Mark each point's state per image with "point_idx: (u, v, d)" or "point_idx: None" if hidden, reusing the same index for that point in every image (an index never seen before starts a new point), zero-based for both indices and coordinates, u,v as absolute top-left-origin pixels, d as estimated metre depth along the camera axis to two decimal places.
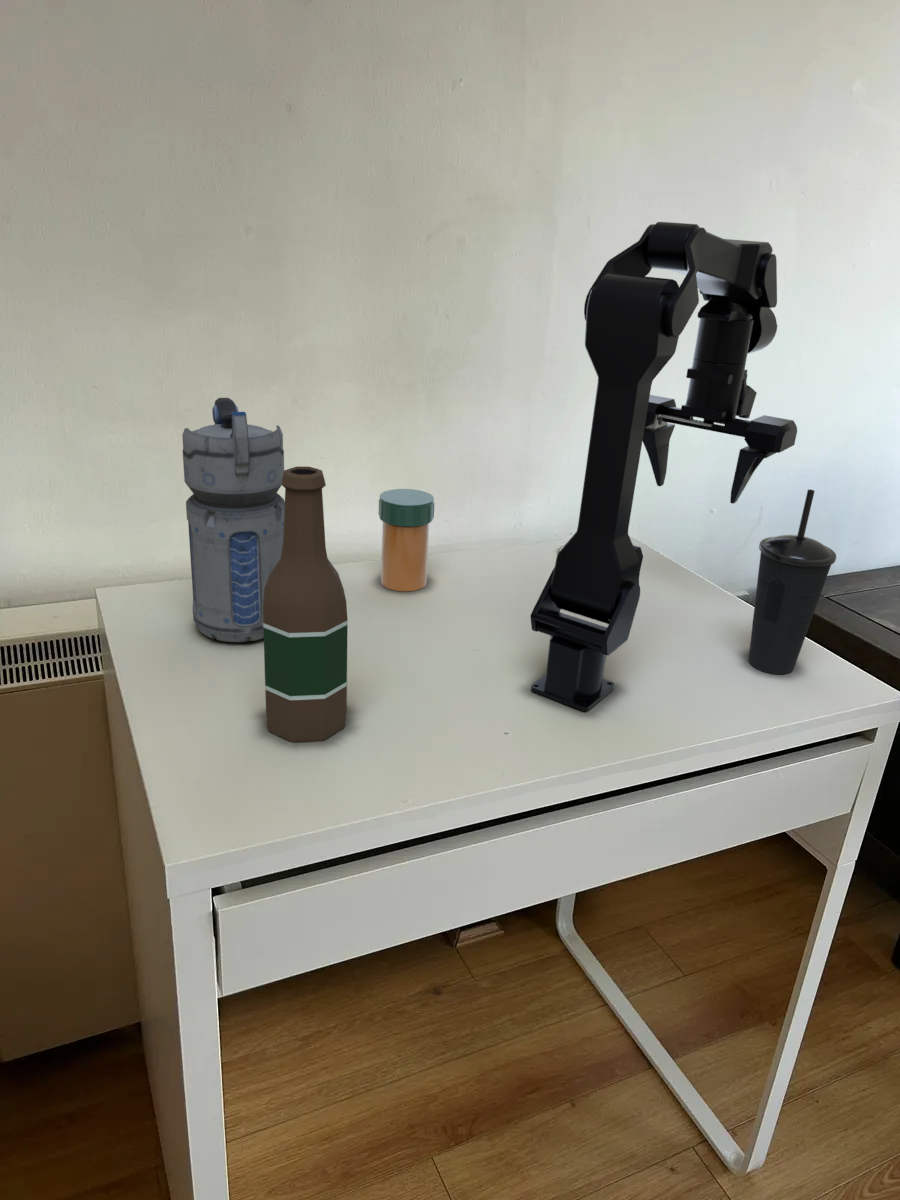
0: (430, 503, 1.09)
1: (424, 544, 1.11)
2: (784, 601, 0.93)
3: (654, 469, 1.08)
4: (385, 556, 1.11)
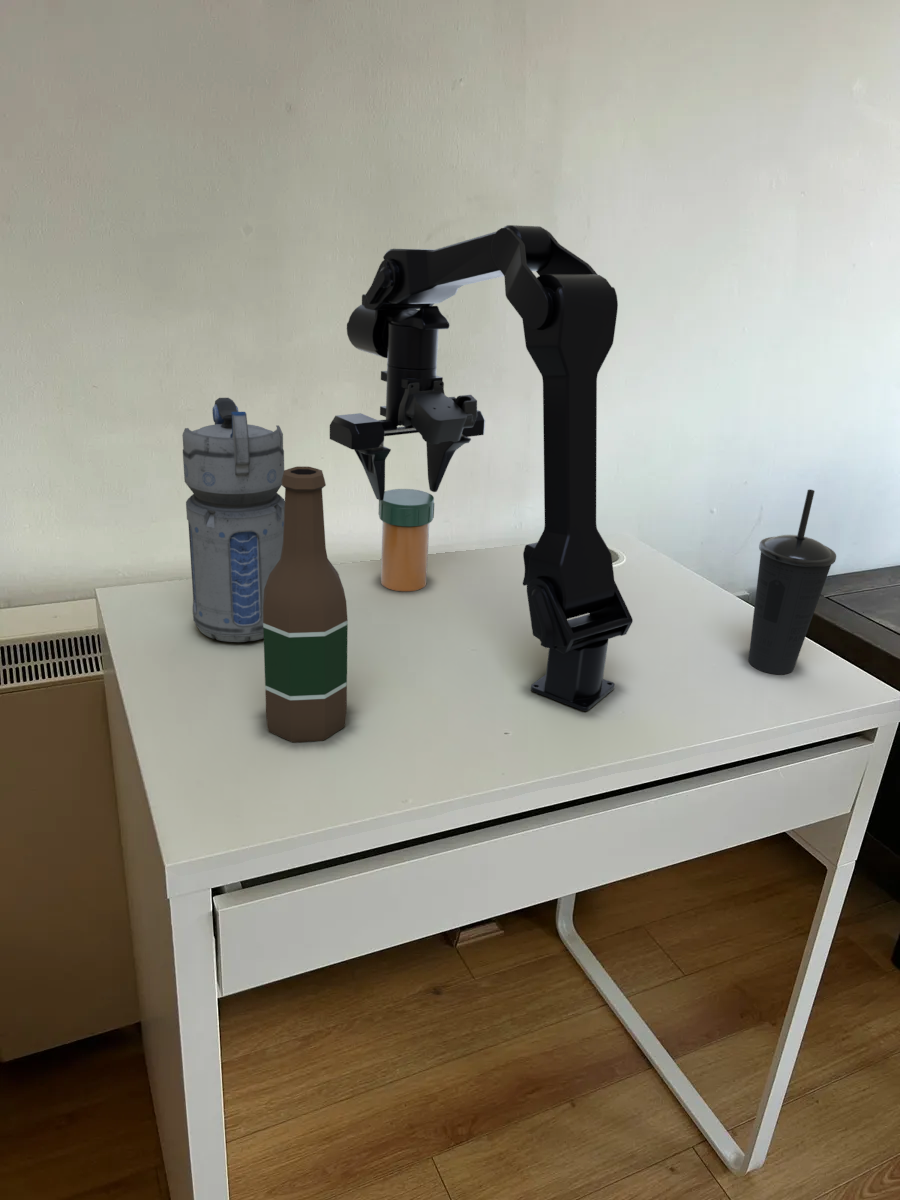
0: (430, 503, 1.09)
1: (424, 544, 1.11)
2: (784, 601, 0.93)
3: None
4: (385, 556, 1.11)
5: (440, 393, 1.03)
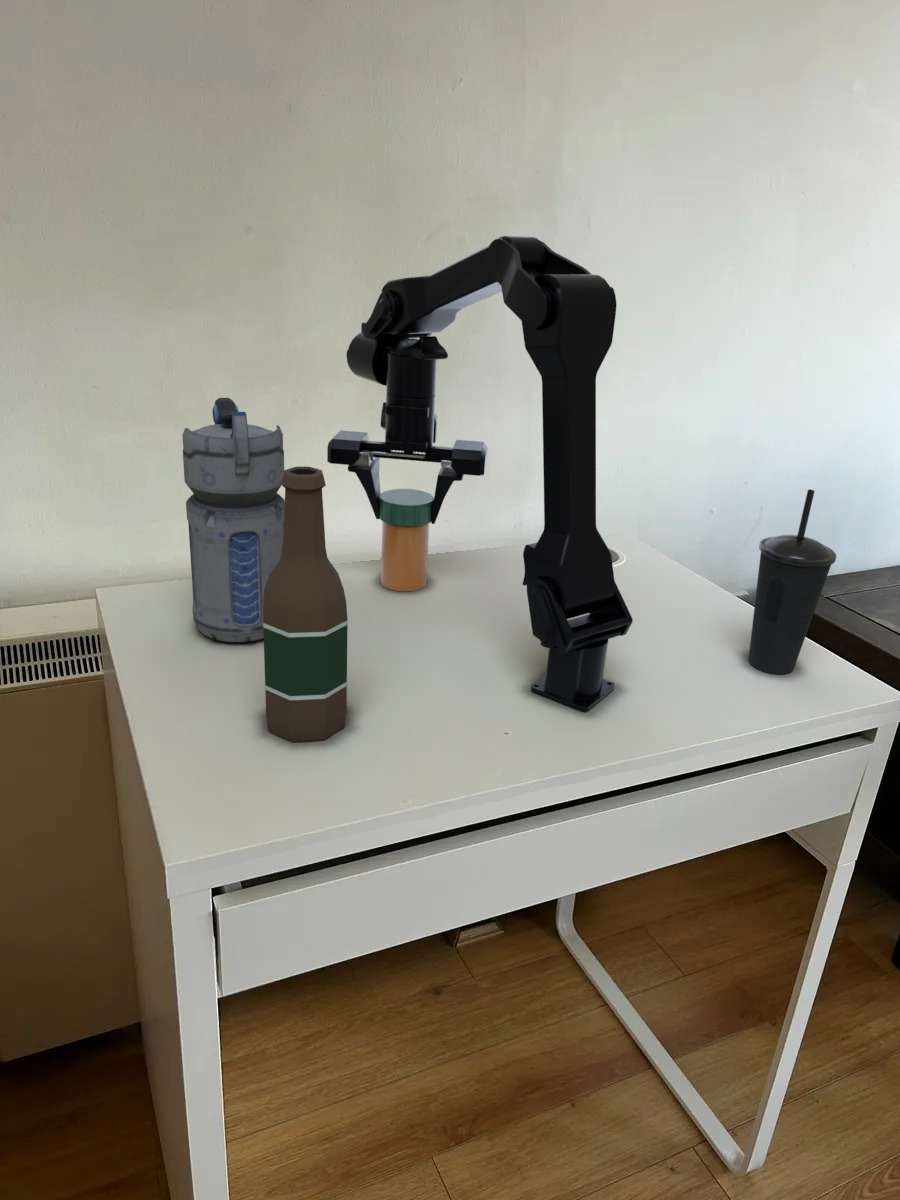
0: (430, 503, 1.09)
1: (424, 544, 1.11)
2: (784, 601, 0.93)
3: (372, 504, 1.10)
4: (385, 556, 1.11)
5: None
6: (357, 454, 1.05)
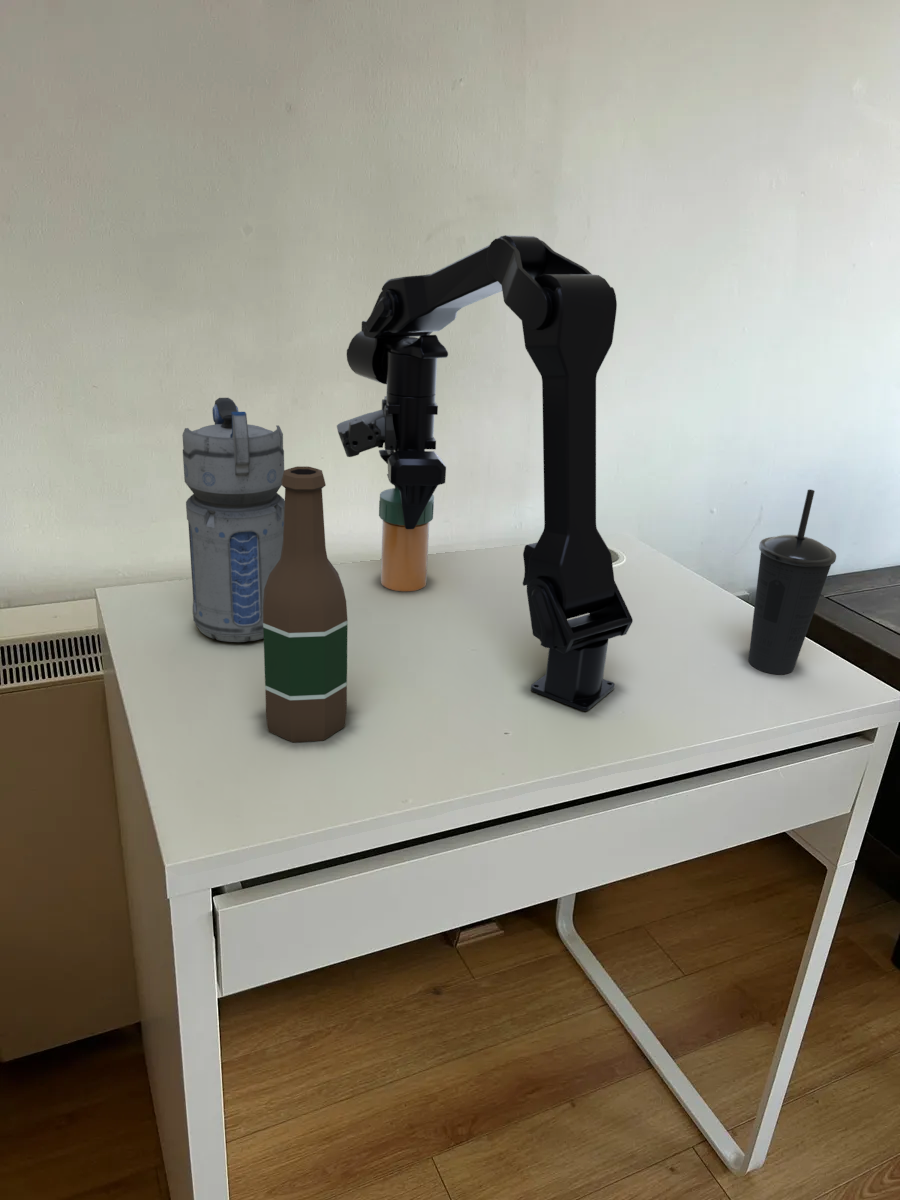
0: None
1: (424, 544, 1.11)
2: (784, 601, 0.93)
3: (421, 513, 1.07)
4: (385, 556, 1.11)
5: (381, 417, 1.04)
6: None
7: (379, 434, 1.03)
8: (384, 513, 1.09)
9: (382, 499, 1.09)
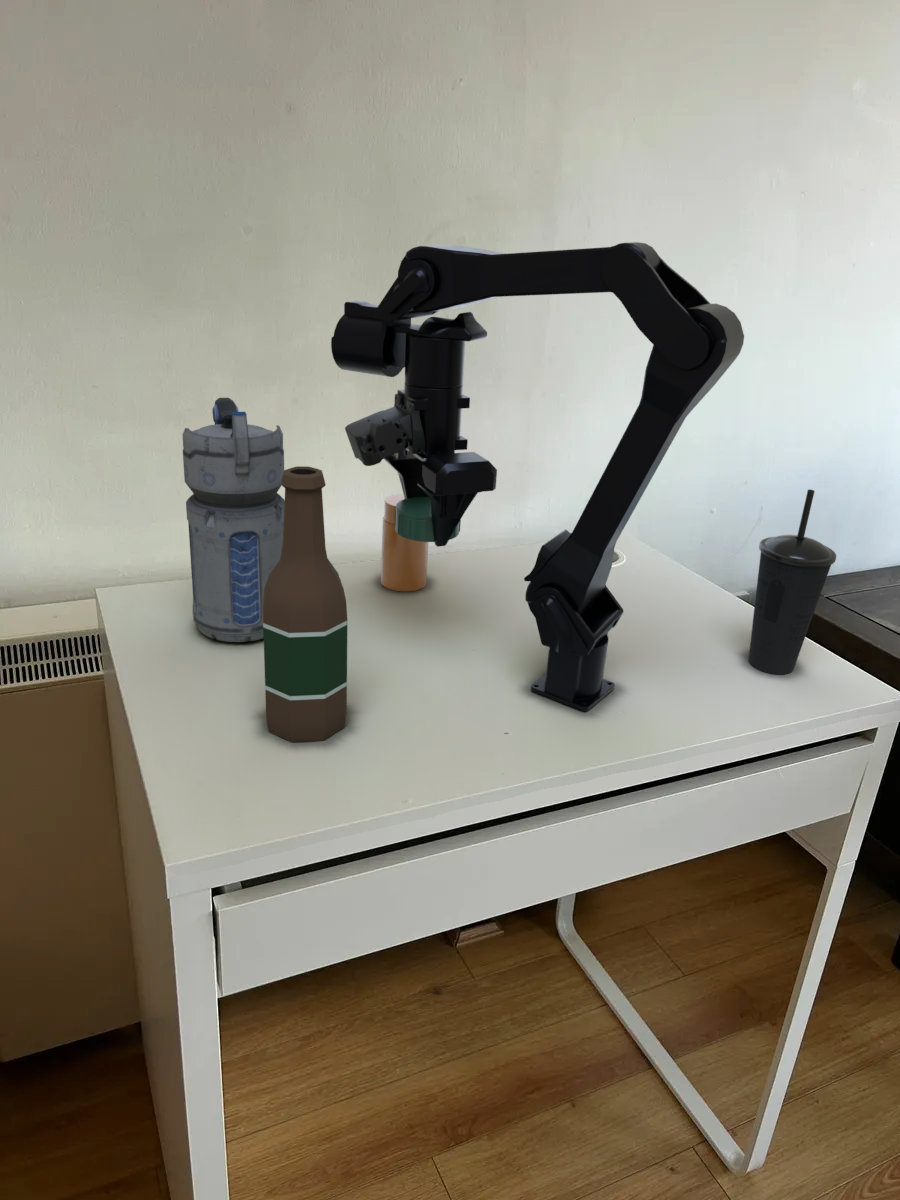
0: None
1: (424, 544, 1.11)
2: (784, 601, 0.93)
3: None
4: (385, 556, 1.11)
5: (404, 415, 0.86)
6: None
7: (407, 436, 0.85)
8: (406, 530, 0.91)
9: (403, 513, 0.91)
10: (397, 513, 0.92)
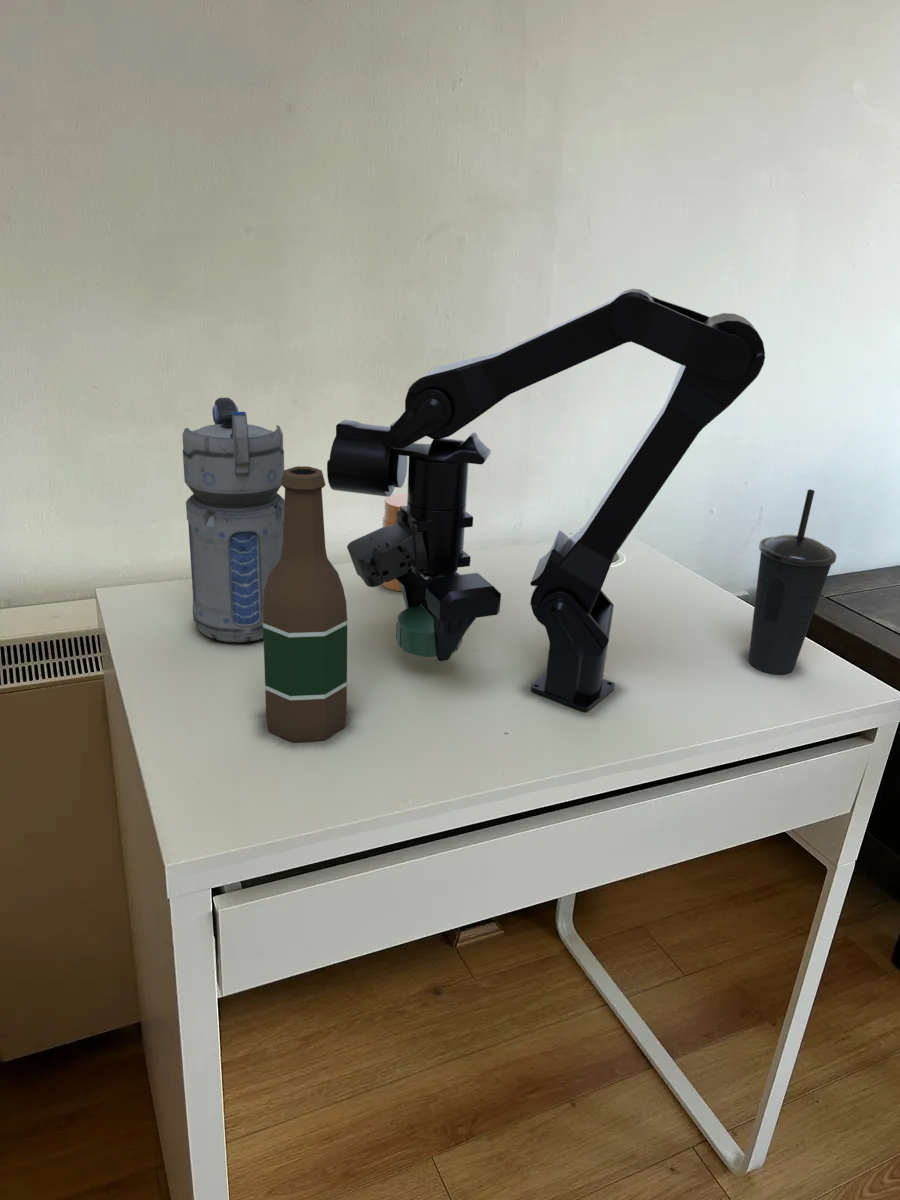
0: None
1: None
2: (784, 601, 0.93)
3: None
4: None
5: (407, 536, 0.85)
6: None
7: (410, 558, 0.84)
8: (408, 645, 0.90)
9: (405, 628, 0.90)
10: (399, 627, 0.91)
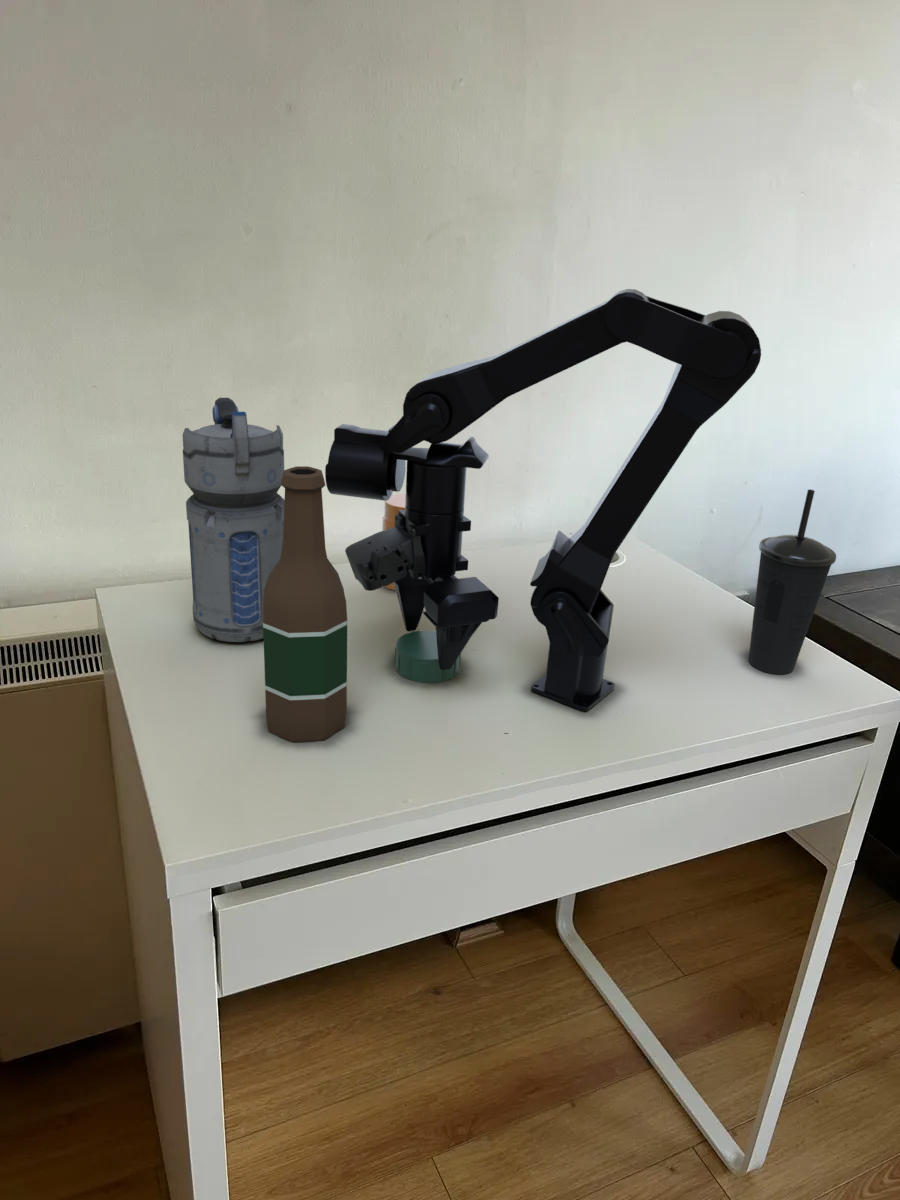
0: None
1: None
2: (784, 601, 0.93)
3: None
4: None
5: (405, 540, 0.85)
6: None
7: (408, 562, 0.85)
8: (407, 670, 0.92)
9: (404, 654, 0.91)
10: (397, 652, 0.92)
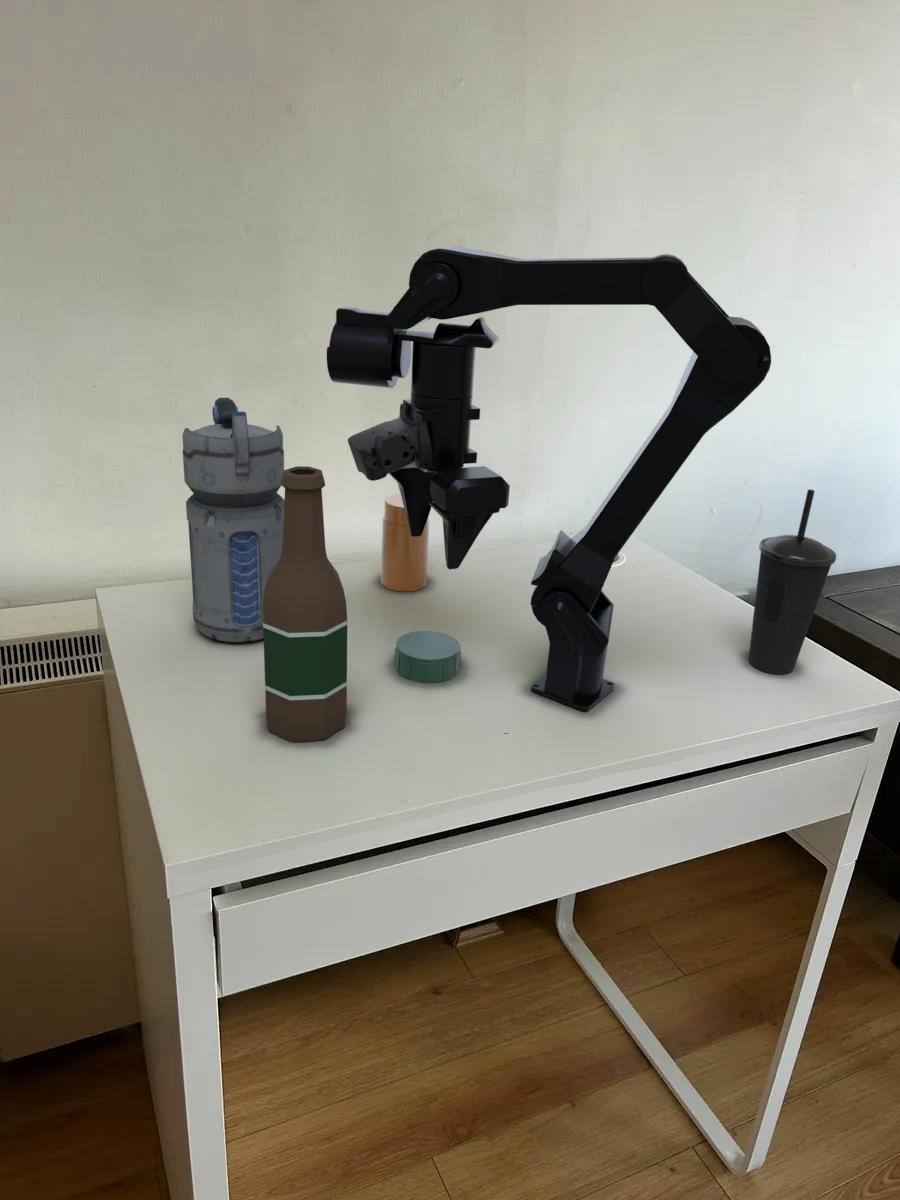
0: None
1: (424, 544, 1.11)
2: (784, 601, 0.93)
3: None
4: (385, 556, 1.11)
5: (411, 427, 0.81)
6: None
7: (414, 449, 0.80)
8: (407, 670, 0.92)
9: (404, 654, 0.91)
10: (397, 652, 0.92)
